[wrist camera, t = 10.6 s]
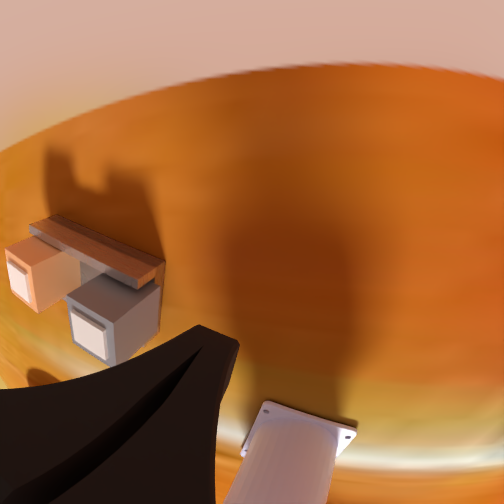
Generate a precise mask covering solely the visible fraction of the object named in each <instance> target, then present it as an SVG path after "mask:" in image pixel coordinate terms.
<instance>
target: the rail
mask: <svg viewBox="0 0 504 504" xmlns="http://www.w3.org/2000/svg"><path fill="white" fill-rule="evenodd" d="M29 231H30V233H31V234H33V235H35V236H36V237H38V238H40V239H42V240H43V241H45V242H47V243H49V244H50V245H52V246H54V247H56V248H57V249H59V250H61V251H63V252H65V253H67V254H68V255H70V256H72V257H74V258H76V259H78V260H80V276H81V286H82V285H83V284H85V283H87V282H88V281H90V280H92V279H93V278H95V277H97V276H98V275H100V274H102V273H105V274H107V275H108V276H110V277H112V278H114V279H116V280H118V281H121V282H123V283H125V284H127V285H129V286H131V287H133V288H135V289H137V290H138V289H139V288H140V287H142V286H143V285H144V284H146V283H147V282H149V281H151V282H153V283H155V284H157V285H159V286H161V287H160V299H159V312H158V326H157V332H156V333H155V334H154V335H153V336H152V337H151V338H150V339H149V340H148V341H147V342H146V343H145V344H144V345H143V346H142V347H145V346H146V345H147V344H148V343H149V342H150V341H151V340H152V339H153V338H154V337H155V336H156V335H157V334H158V333H159V328H160V314H161V302H162V291H163V280H164V271H165V261H164V260H161V259H159V258H156V257H154V256H152V255H149V254H147V253H144V252H142V251H140V250H137V249H135V248H132V247H130V246H128V245H125V244H123V243H121V242H118V241H116V240H113V239H111V238H109V237H107V236H104V235H102V234H100V233H97V232H95V231H93V230H90V229H88V228H86V227H84V226H81V225H79V224H77V223H75V222H72V221H70V220H68V219H66V218H63V217H61V216H59V215H54V216H51V217H48V218H46V219H43V220H40V221H38V222H35V223H32V224H30V225H29ZM62 299H63V300H65V301H66V302H67V297H64V298H62Z"/></svg>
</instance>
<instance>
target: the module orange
mask: <svg viewBox="0 0 504 504" xmlns="http://www.w3.org/2000/svg"><path fill="white" fill-rule="evenodd" d="M5 253H6V260H7V267H8V273H9V279H10V284H11V289H12V293H14V294H15V295H16V296H17V297H18V298H19V299H21V300H22V301H23V302H24V303H26V304H27V305H28V306H29V307H30V308H32V309H33V310H34V311H36V312H37V313H38V314H39V313H40V312H42V311H43V310H45V309H47V308H48V307H50V306H51V305H53V304H54V303H56V302H58V301H59V300H61V299H62V298H64V297H66V295H67V294H69V293H70V292H72V291H73V290H75V289H77V288H78V287H80V286H81V276H80V260H78V259H76V258H74V257H72V256H70V255H68V254H67V253H65V252H63V251H61V250H59V249H57V248H56V247H54V246H52V245H50V244H49V243H47V242H45V241H43V240H42V239H40V238H38V237H36V236H32V237H30V238H27V239H25V240H23V241H20V242H18V243H16V244H13V245H11V246H9V247H7V248H5Z"/></svg>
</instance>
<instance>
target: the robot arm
mask: <svg viewBox="0 0 504 504" xmlns="http://www.w3.org/2000/svg"><path fill="white" fill-rule="evenodd" d="M239 346H240V344H239V343H238V341H237V340H235V339H233V338H230V337H228V336H225V335H223V334H220V333H218V332H216V331H213V330H211V329H208V328H206V327H204V326H201V325H196V326H194V327H192V328H191V329H189V330H187V331H185V332H184V333H182V334H180V335H178V336H176V337H175V338H173V339H171V340H169V341H167V342H165V343H163V344H162V345H160V346H158V347H156V348H154V349H152V350H149V351H147V352H145V353H143V354H141V355H139V356H137V357H135V358H132V359H130V360H128V361H125V362H123V363H120V364H118V365H115V366H113V367H110V368H108V369H105V370H102V371H99V372H96V373H93V374H90V375H86V376H83V377H80V378H76V379H72V380H67V381H63V382H59V383H54V384H48V385H42V386H35V387H25V388H15V389H0V504H216V501H215V451H216V435H217V425H218V417H219V409H220V403H221V401H222V398H223V396H224V393H225V391H226V389H227V387H228V385H229V381H230V378H231V374H232V371H233V367H234V364H235V360H236V357H237V353H238V350H239ZM356 435H357V429H356V428H354V427H350V426H346V425H343V424H339V423H336V422H332V421H329V420H326V419H322V418H319V417H316V416H313V415H309V414H306V413H303V412H300V411H297V410H294V409H291V408H288V407H285V406H283V405H280V404H277V403H274V402H271V401H265V402H263V404H262V407H261V409H260V411H259V414H258V416H257V418H256V420H255V423H254V425H253V427H252V429H251V431H250V434H249V436H248V438H247V440H246V442H245V444H244V446H243V449H242V451H241V453H240V454H241V456H242V457H244V459H243V462H242V464H241V466H240V468H239V470H238V472H237V475H236V477H235V479H234V481H233V483H232V485H231V487H230V490H229V492H228V494H227V496H226V498H225V500H224V502H223V504H326V502H327V497H328V493H329V488H330V484H331V479H332V474H333V469H334V464H335V459H336V457H337V456H338V455H339V454H340V453H341V452H342V451H343V450H344V449H345V447H346V446H347V445H348V444H349V443H350V442H351V441H352V440H353V438H354V437H355V436H356Z"/></svg>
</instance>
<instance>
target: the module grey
mask: <svg viewBox="0 0 504 504" xmlns="http://www.w3.org/2000/svg"><path fill="white" fill-rule="evenodd" d="M160 287H161V286H159V285H157V284H155V283H153V282H151V281H149V282H147V283H146V284H144V285H143V286H142V287H140V288H139V289H138V290H137V289H135V288H133V287H131V286H129V285H127V284H125V283H123V282H121V281H118V280H116V279H114V278H112V277H110V276H108V275H107V274H105V273H102V274H100V275H98V276H97V277H95V278H93V279H92V280H90V281H88V282H87V283H85V284H83V285H82V286H80V287H78V288H77V289H75V290H73V291H72V292H70V293H69V294H67V295H66V297H67V306H68V314H69V321H70V327H71V334H72V340H73V343H74V344H76V345H77V346H79V347H80V348H82V349H83V350H85V351H86V352H88V353H89V354H91V355H92V356H94V357H95V358H97V359H98V360H100V361H101V362H103V363H105V364H106V365H108V366H109V367H113V366H115V365H118V364H120V363H123V362H125V361H127V360H128V359H129V358H130V357H131V356H132V355H133V354H134V353H136V352H137V351H138V350H139V349H140V348H141V347H142V346H143V345H144V344H145V343H146V342H147V341H148V340H149V339H150V338H151V337H152V336H153V335H154V334H155V333H156V332H157V326H158V312H159V299H160Z"/></svg>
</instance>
